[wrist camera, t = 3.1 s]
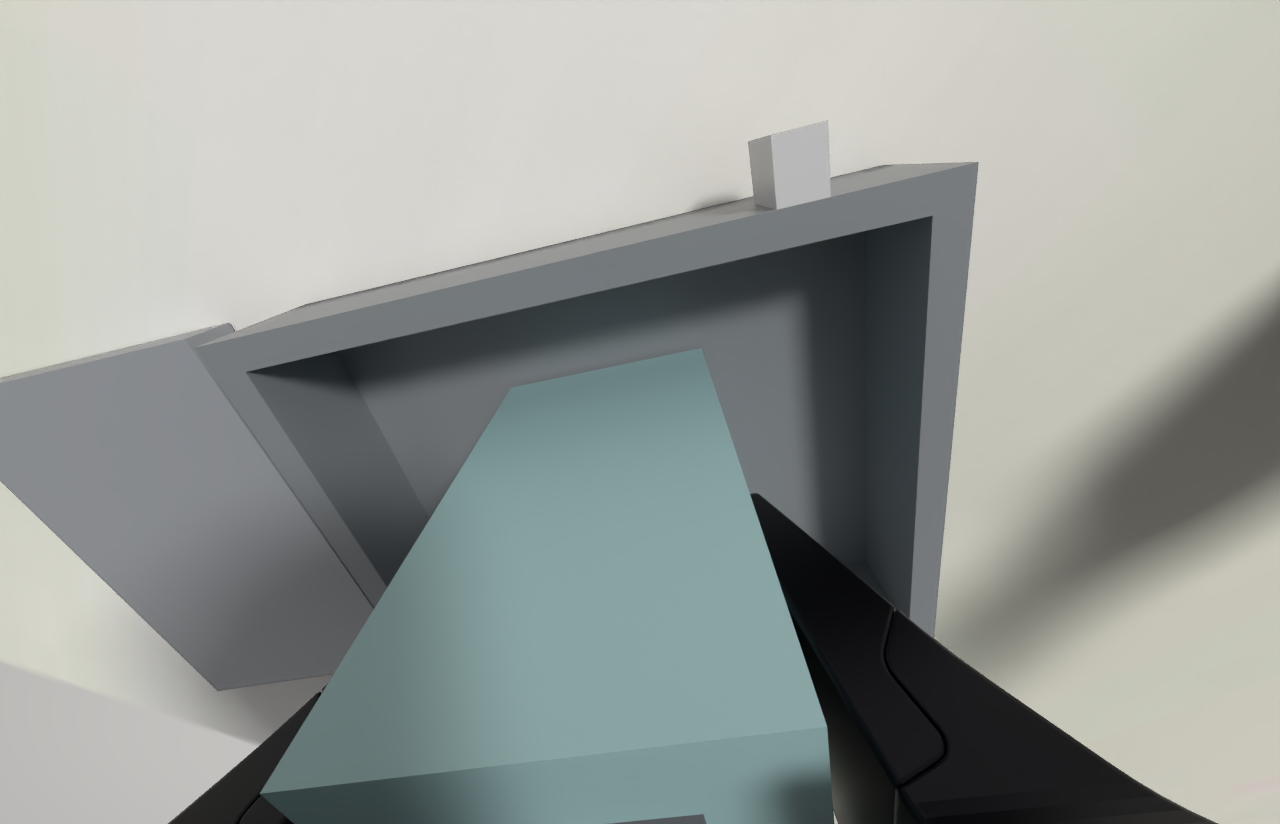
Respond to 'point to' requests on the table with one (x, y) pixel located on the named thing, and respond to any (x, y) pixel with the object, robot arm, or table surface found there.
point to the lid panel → (180, 510)
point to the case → (648, 328)
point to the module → (577, 634)
